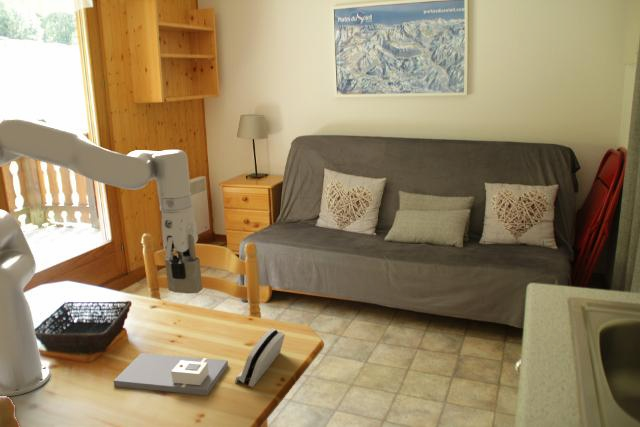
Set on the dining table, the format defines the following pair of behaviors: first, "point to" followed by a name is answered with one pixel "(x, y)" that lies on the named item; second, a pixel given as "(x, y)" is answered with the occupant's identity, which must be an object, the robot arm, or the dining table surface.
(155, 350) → the dining table surface
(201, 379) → the white electronic device
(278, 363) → the dining table surface
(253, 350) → the grey zipper pouch
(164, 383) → the board
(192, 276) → the padlock
